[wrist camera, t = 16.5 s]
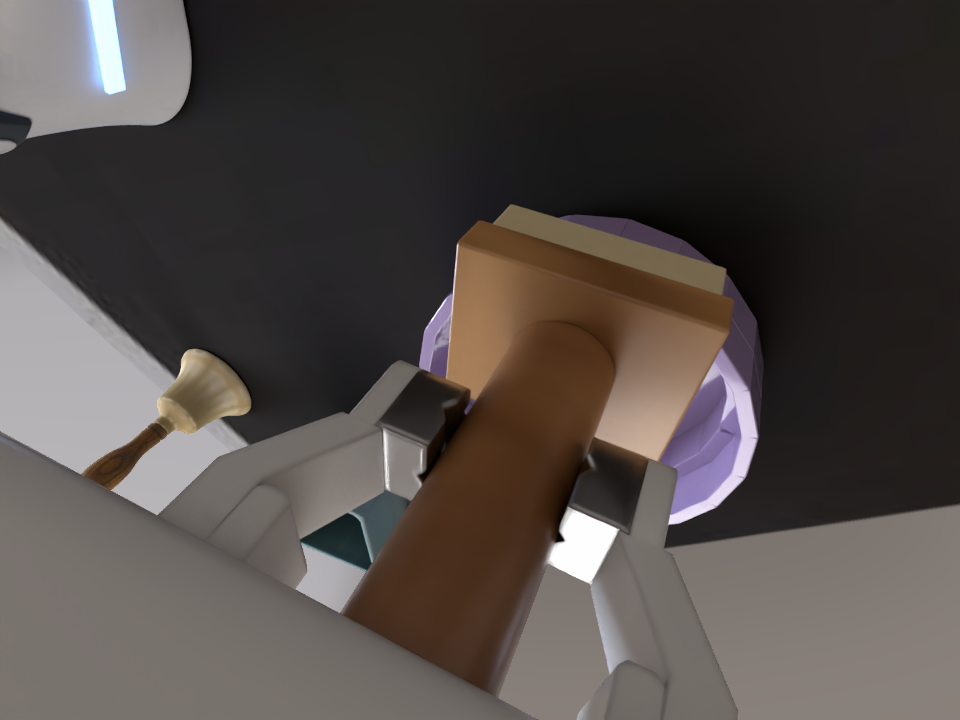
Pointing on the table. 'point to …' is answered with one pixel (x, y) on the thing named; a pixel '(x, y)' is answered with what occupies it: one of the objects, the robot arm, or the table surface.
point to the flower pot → (359, 531)
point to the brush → (535, 423)
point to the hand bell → (179, 412)
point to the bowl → (715, 408)
